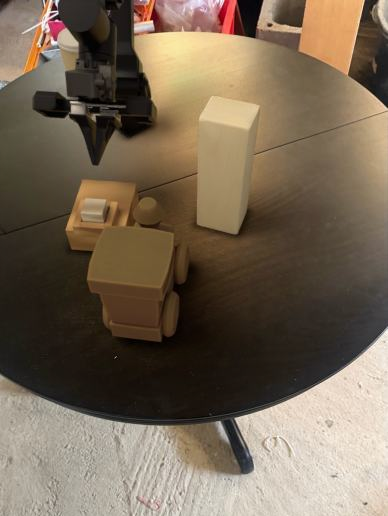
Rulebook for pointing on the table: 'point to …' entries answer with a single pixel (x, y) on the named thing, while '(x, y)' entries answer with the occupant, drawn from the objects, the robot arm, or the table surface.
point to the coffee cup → (68, 49)
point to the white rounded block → (94, 210)
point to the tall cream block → (225, 162)
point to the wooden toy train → (139, 274)
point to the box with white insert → (119, 212)
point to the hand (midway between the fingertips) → (95, 165)
